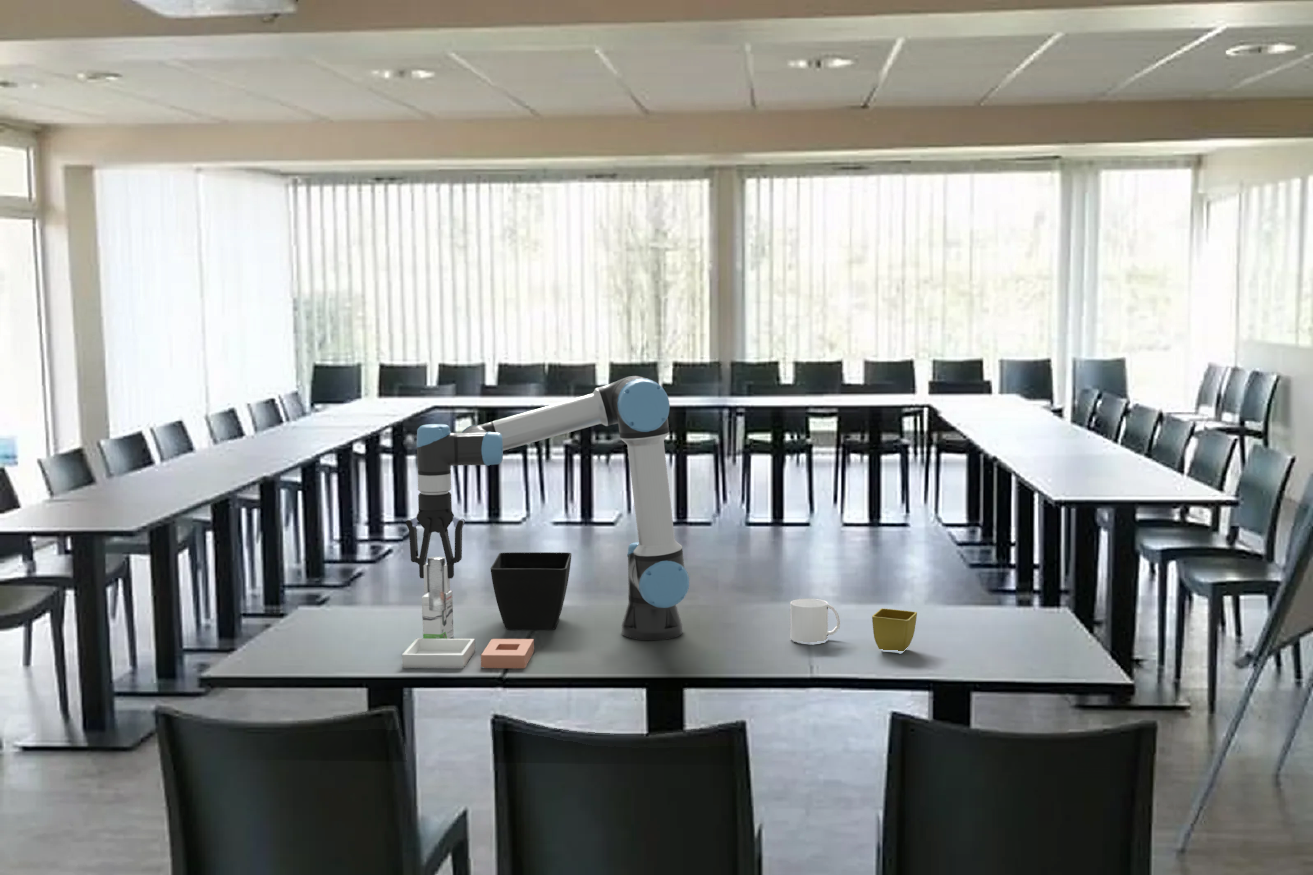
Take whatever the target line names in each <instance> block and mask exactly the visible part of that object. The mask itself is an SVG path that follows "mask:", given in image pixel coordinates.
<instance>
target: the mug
mask: <svg viewBox="0 0 1313 875" xmlns="http://www.w3.org/2000/svg"><path fill="white" fill-rule="evenodd" d="M789 607H790V609H789V611H790V619H789V620H790V622H789V623H790V624H789V625H790V628H789V630H790V634H789V638H791V639H792V640H794V641H803V642H817V641H824V640H826V639H827V638H828V639H829V636H832V635H834V634H836V633H837V632H838V630H840V627H841V620H840V616H839V613H838V612H837V609H835V607H834V606H833V605H830V604H829V602H828V601H826V600H824V599H820V598H819V599H817V598H798V599H793V600H791V601H790V606H789ZM829 609H830V610H832V612H833V613H834V616H835V618H836V626H835V627H834V628H833V629H832V630H829ZM827 636H828V637H827ZM791 639H790V640H791Z"/></svg>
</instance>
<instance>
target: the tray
mask: <svg viewBox="0 0 1313 875" xmlns="http://www.w3.org/2000/svg"><path fill="white" fill-rule="evenodd" d="M475 653H476V639H475V638H450V639H423V638H419V637H418V638H415V639H414V641H413V642H412V643H411V644H410V645H409V646H408V647H407V648H406V649H405V651H404V652H402V654H401V660H402V661H401V667H402V669H464V668H465V667H466V665H467V664H468V663H469V661H470V660H469V659H471V658H472V657H473V656H474V654H475ZM471 656H472V657H471ZM467 662H468V663H467ZM464 666H465V667H464Z"/></svg>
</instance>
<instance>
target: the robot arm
mask: <svg viewBox="0 0 1313 875" xmlns="http://www.w3.org/2000/svg"><path fill="white" fill-rule="evenodd" d="M670 406H671V404H670V400H669V396H668V394H667V392H666V391H665V389H664V387H663V386H662V385H660V384H659V383H658V382H657V381H654V380H652V379H650V378H646V377H644V376H641V375H640V376H639V375H632V376H626V377H624V378H621V379H618V380H617V381H614V382H611V383H608V384H604V385H603V386H602V385H601V386H599V387H595V388H594V391H593V392H592V393H588V394H585V395H582V396H579V397H578V396H577V397H574V398H571V399H567V400H564V401H560V402H557V403H553V404H550V405H546V406H543V407H540V408H535V409H531V410H528V411H524V412H521V413H517V414H514V415H509V416H507V417H502V418H500V419H495V420H493V421H490V422H485V423H483V424H472V425H469V426H467V427H465V428H464V429H463V430H462V431H461V432H452V431H451V429H450V428H451V426H449V425H447V424H444V423H430V424H429V423H428V424H423V425H420V426H419V427H418V428H417V429H416V433H417V434H416V458H417V460H416V461H417V462H416V464H417V490H418V491H419V493H418V494H417V496H418V497H417V498H418V500H417V502H418V512H417V514H416V516H415V517H413V518H409V519H407V520H406V521H405V524H406V527H407V529H408V536H409V549H410V550H409V553H410V561H411V562H412V563H416V564H418V565H419V566H418V570H419V571H418V572H419V573H418V574H419V578H420V579H423V590H424V591H423V594H427V593H428V553H429V546H430V542H431V537H432V536H431V535H432V533H437V534H439V537H440V539H441V545H442V548H443V551H444V553H443V554H444V557H445V565H444V593H448V592H449V591H451V579H453V578H454V576H455V564H457V563H459V562H460V561H462V560H463V559H462V558H463V556H462V555H463V553H462V552H463V528H464V525H465V523H466V521H465V519H464V518H458V517H456V516H455V515H454V512H453V508H452V507H453V506H452V493H451V492H450V491H451V490H452V470H451V468H452V466H455V467H458V466H490V465H491V466H493V465H500V464H502V462H503V460H504V459H503V458H504V453H503V452H504V451H506V450H507V451H508V450H509V449H514V448H517V447H521V446H524V445H525V446H526V445H528V444H532V443H535V442H539V441H542V440H547V439H549V438H554V437H557V436H560V435H565V434H569V433H571V432H575V431H579V430H583V429H586V428H589V427H593V426H596V425H603V426H605V427H609V426H611V425H616V424H618V432H619V439H620V440H621V441H622V442H624V443H625V444H626V445H627V453H628V460H629V470H630V478H631V486H632V494H633V504H634V512H635V523H636V529H637V531H636V532H637V539H638V540H637V541H636V542H632V543H630V544H629V545H628V547H627V555H626V557H627V579H628V580H627V581H628V582H627V583H628V584H627V585H628V587H627V588H628V589H627V590H628V592H627V594H628V597H627V598H628V603H627V605H626V609H625V614H624V615H623V618H622V619H623V620H622V622H621V634H622V635H623V636H624V637H626V638H629V639H631V640H632V639H633V640H639V641H640V640H641V641H662V640H669V639H670V640H671V639H673V638H677V637H680V636H681V635H682V634H683V621H682V619H681V616H680V613H679V610H678V606H677V605H678V604H679V603H681V602H682V601H683V600H684V599H685V598H686V596H687V594H688V592H689V587H690V576H689V574H688V571H687V570H686V568H685V562H684V551H683V545H681V543H679V542H678V541H677V540H676V537H675V536H676V535H675V530H674V529H675V528H674V520H673V510H672V503H671V502H672V501H671V495H670V485H669V478H668V476H669V475H668V467H667V460H666V459H667V458H666V449H665V442H664V441H665V439H666V438H667V437H668V436H669V435H670V427H669V426H670V425H669V418H668V417H669V414H670ZM418 523H419V524H420V525H421V527H422V528H423V533H422V543H421V547H420V554H419V546H418V530H417V526H418V525H419V524H418ZM451 523H453V527H454V528H455V529H454V554H453V548H452V546H451V541H450V536H449V530H448V528H449V526H450V525H451Z"/></svg>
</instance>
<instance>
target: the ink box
mask: <svg viewBox="0 0 1313 875" xmlns="http://www.w3.org/2000/svg"><path fill="white" fill-rule="evenodd" d="M453 596H454V595H453V590H450V591H449V592H448V593H446V610H444V611H430V610H429V597H428V593H425V594H424V595H422V596H421V612H422V613H421V614H422V639H452V638H453V637H454V605H453V604H454V601H453V600H454V598H453Z"/></svg>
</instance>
